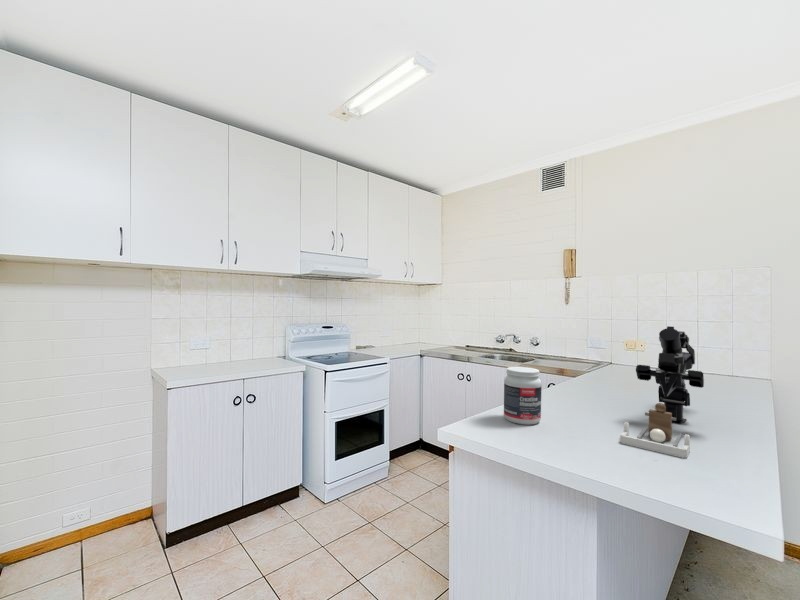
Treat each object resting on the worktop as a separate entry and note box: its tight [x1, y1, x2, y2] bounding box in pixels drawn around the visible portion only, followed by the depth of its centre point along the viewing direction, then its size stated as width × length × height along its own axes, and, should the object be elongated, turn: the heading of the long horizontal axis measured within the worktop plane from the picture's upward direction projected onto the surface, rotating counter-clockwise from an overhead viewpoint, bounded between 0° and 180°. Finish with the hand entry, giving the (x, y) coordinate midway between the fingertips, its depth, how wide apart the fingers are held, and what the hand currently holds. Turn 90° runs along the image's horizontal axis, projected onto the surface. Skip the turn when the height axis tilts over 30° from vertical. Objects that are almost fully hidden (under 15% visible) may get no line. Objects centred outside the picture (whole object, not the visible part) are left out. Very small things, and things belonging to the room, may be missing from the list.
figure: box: [644, 402, 676, 442], centre depth 118 cm, size 4×8×11 cm, turn 47°
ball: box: [649, 429, 666, 444], centre depth 115 cm, size 4×4×4 cm
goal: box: [619, 421, 691, 459], centre depth 110 cm, size 7×16×5 cm, turn 47°
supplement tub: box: [503, 366, 543, 426], centre depth 136 cm, size 13×13×18 cm
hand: (665, 395), depth 125 cm, fingers closed
